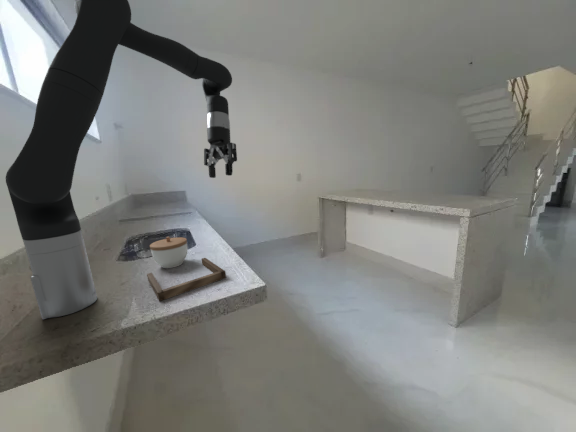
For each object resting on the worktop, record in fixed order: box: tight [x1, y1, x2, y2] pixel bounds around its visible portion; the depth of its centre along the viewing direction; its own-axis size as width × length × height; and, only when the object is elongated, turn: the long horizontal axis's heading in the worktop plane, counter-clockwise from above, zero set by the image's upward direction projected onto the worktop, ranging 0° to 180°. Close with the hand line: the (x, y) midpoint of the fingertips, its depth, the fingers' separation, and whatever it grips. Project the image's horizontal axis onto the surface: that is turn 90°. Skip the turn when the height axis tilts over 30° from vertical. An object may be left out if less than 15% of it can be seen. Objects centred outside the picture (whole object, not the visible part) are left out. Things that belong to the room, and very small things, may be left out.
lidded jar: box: [149, 236, 188, 269], centre depth 76 cm, size 11×11×9 cm
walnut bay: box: [146, 257, 227, 302], centre depth 65 cm, size 16×15×2 cm
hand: (220, 176), depth 82 cm, fingers open, 8 cm apart
